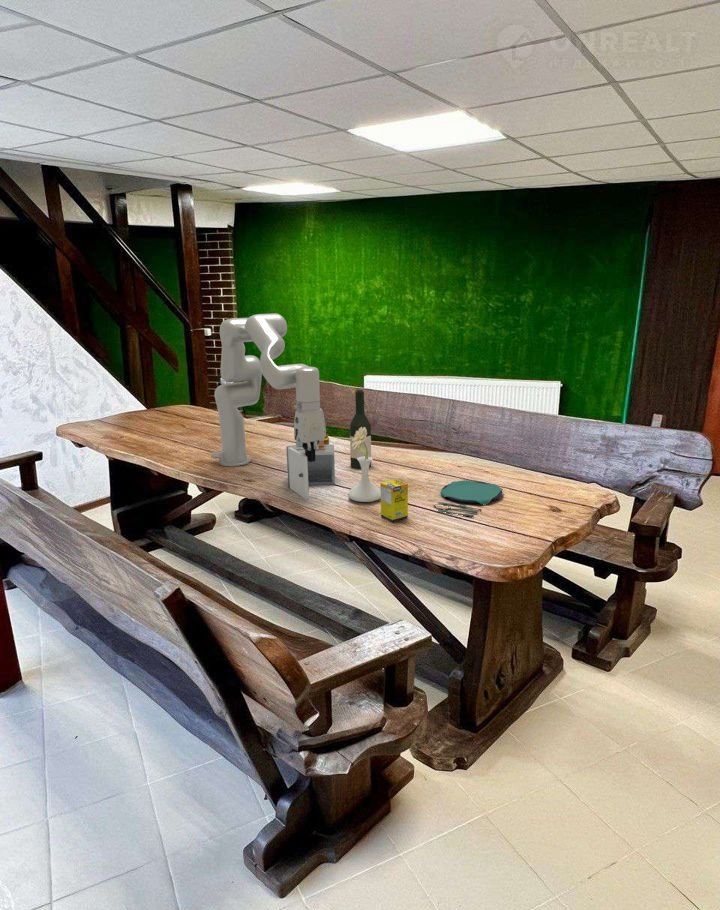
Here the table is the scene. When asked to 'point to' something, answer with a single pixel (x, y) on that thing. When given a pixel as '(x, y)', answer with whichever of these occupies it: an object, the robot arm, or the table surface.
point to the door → (297, 472)
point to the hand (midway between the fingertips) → (310, 460)
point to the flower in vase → (363, 473)
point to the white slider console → (320, 465)
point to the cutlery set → (469, 494)
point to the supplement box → (394, 500)
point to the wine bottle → (356, 423)
